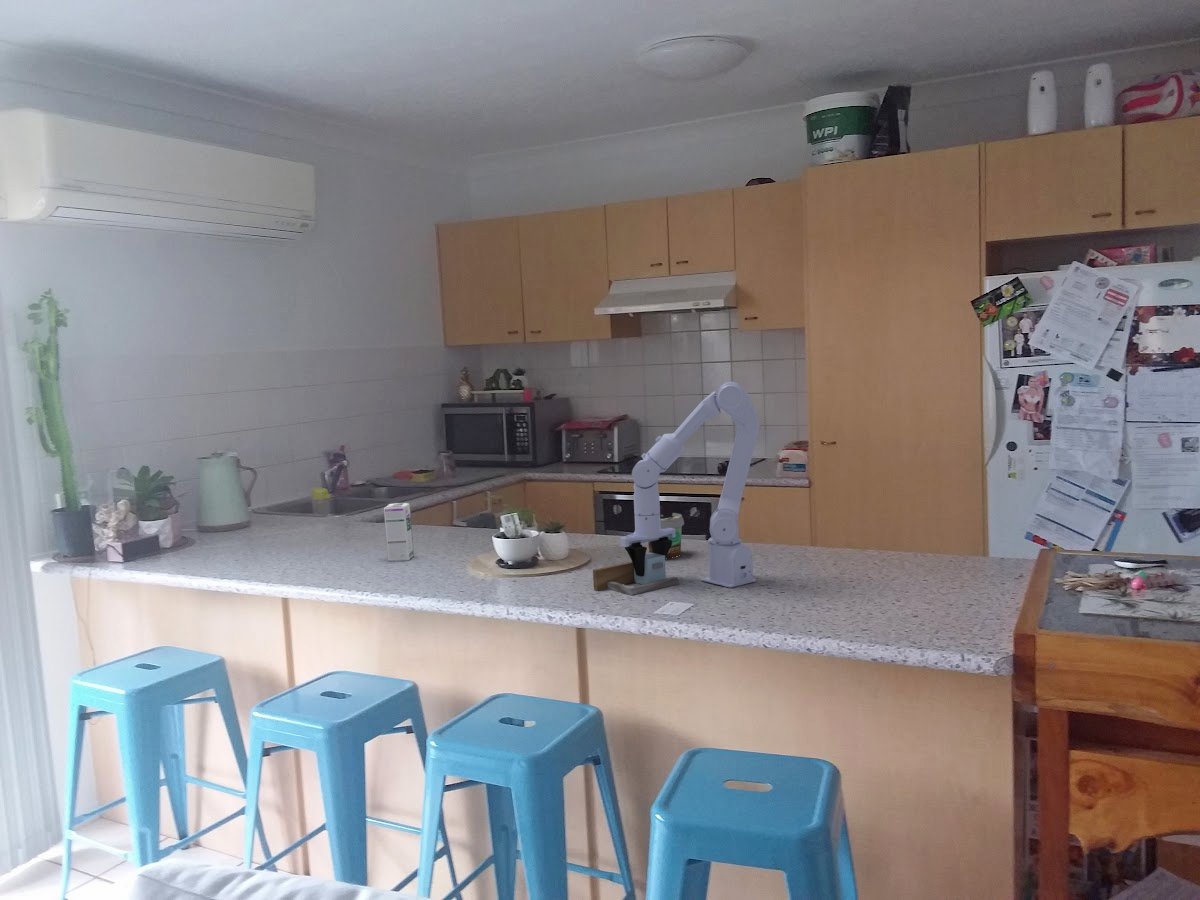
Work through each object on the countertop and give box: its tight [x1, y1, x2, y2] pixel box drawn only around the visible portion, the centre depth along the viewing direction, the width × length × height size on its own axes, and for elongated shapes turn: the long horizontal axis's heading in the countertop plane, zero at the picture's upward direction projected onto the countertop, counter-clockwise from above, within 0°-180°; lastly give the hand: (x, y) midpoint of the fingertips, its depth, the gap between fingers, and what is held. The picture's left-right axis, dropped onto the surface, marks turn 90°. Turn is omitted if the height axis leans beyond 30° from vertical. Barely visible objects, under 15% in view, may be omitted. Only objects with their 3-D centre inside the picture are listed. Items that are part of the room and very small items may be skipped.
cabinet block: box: [634, 552, 667, 585], centre depth 212 cm, size 6×5×6 cm
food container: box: [647, 512, 685, 558], centre depth 238 cm, size 12×6×10 cm, turn 140°
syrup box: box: [383, 502, 415, 562], centre depth 250 cm, size 6×6×14 cm
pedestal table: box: [592, 560, 679, 596], centre depth 209 cm, size 10×16×4 cm, turn 127°
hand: (649, 573), depth 213 cm, fingers closed on cabinet block, 5 cm apart
